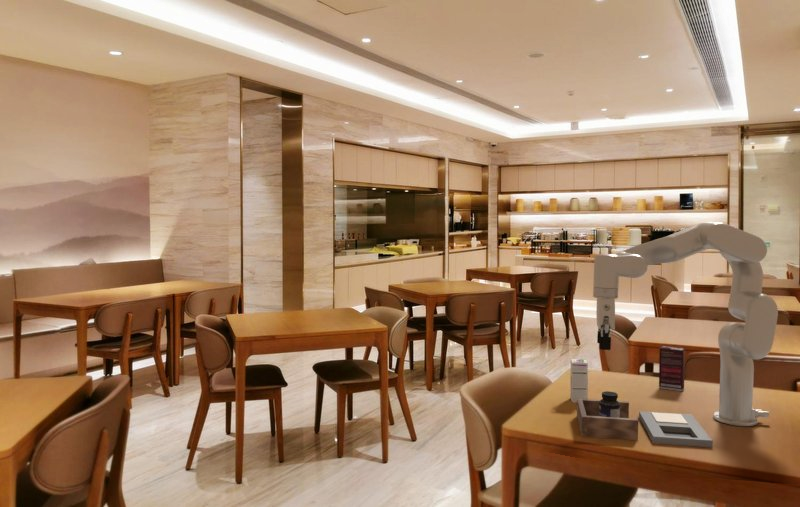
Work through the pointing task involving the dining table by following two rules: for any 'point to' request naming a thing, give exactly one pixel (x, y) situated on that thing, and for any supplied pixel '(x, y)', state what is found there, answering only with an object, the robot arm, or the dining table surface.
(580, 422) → the box
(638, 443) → the dining table surface
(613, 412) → the pill bottle
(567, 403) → the dining table surface
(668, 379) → the supplement box
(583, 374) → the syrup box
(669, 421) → the hole deck
